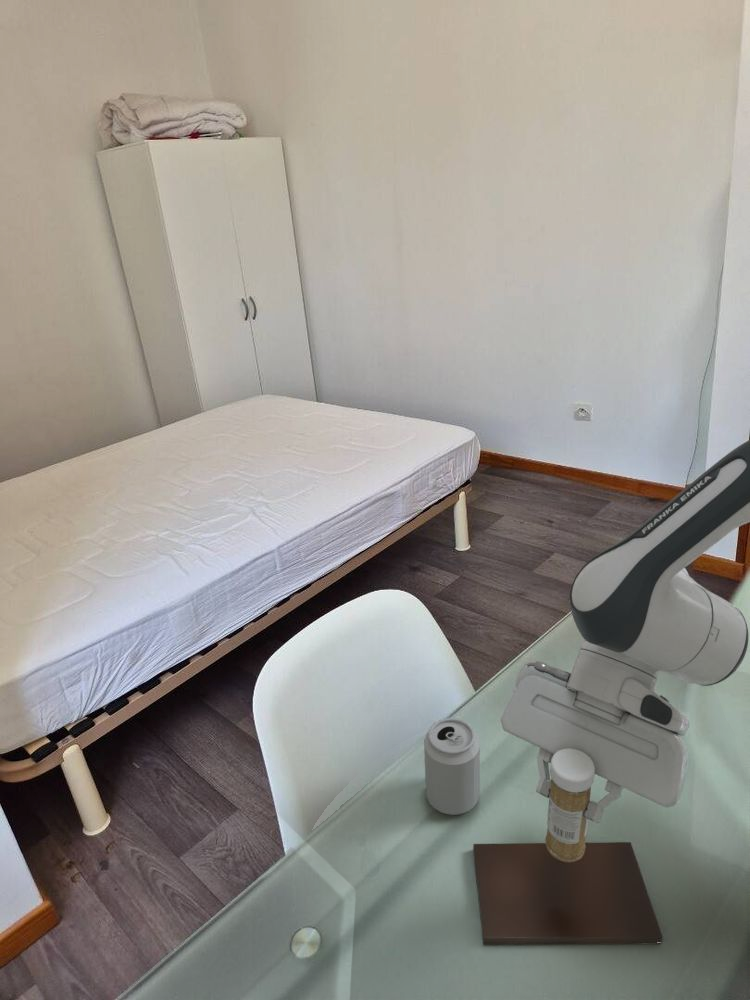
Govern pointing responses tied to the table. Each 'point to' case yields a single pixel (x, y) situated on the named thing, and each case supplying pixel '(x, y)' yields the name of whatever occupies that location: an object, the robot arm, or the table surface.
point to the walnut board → (563, 896)
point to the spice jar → (569, 804)
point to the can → (452, 766)
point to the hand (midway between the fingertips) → (567, 807)
